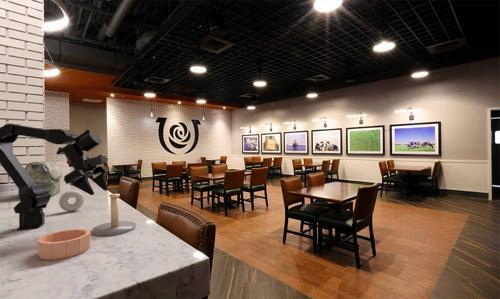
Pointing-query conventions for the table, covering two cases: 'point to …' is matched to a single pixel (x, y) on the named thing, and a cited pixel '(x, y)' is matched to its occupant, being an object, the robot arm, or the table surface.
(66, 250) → the bowl
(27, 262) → the table surface
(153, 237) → the table surface
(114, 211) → the cover
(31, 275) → the table surface
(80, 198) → the donut
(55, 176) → the lunch bag
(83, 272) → the table surface
